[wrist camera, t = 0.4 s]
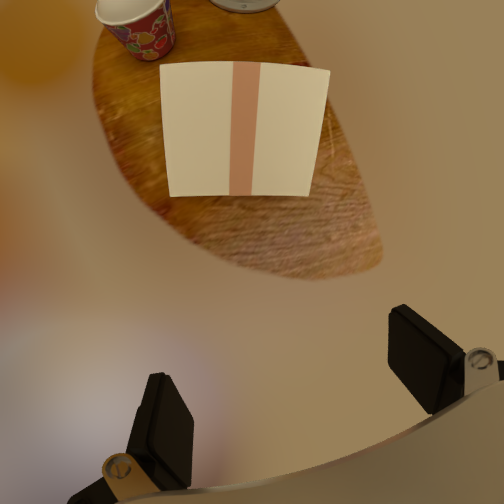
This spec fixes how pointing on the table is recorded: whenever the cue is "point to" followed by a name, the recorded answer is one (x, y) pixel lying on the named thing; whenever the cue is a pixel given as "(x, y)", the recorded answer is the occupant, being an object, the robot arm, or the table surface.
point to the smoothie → (139, 25)
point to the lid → (241, 127)
